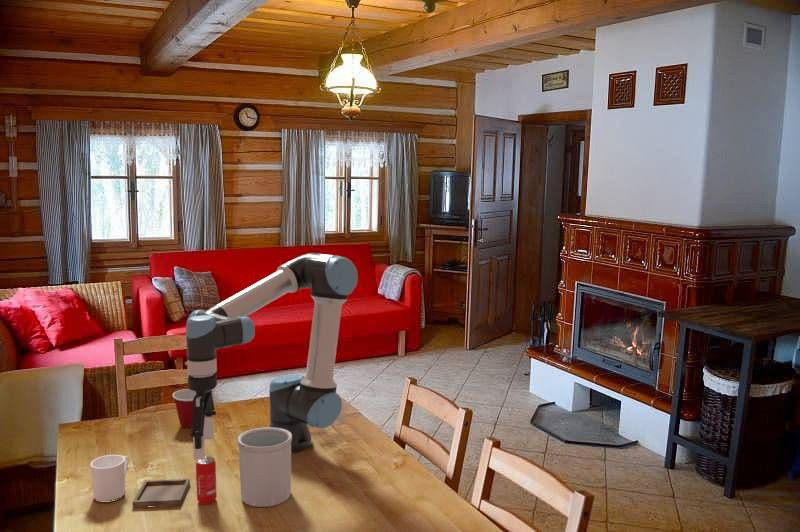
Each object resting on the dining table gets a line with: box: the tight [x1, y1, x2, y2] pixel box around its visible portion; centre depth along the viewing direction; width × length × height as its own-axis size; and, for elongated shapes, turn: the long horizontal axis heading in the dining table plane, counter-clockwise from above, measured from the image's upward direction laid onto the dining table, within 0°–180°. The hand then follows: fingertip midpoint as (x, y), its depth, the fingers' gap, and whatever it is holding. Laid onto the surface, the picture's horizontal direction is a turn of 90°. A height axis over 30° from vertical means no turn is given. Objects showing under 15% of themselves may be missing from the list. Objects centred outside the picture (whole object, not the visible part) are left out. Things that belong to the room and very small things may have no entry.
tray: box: [131, 478, 191, 508], centre depth 191 cm, size 13×13×2 cm
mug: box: [90, 454, 130, 502], centre depth 191 cm, size 11×9×10 cm
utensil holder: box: [237, 426, 292, 508], centre depth 191 cm, size 15×15×18 cm
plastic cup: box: [172, 388, 196, 429], centre depth 241 cm, size 11×11×12 cm
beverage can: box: [195, 456, 218, 506], centre depth 188 cm, size 5×5×12 cm
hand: (204, 448), depth 186 cm, fingers open, 13 cm apart
